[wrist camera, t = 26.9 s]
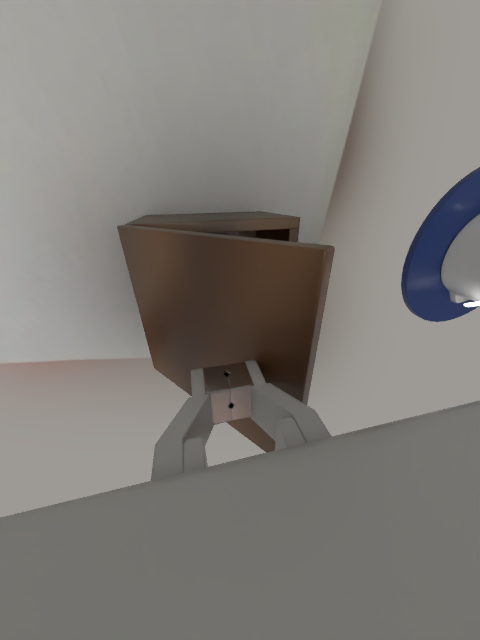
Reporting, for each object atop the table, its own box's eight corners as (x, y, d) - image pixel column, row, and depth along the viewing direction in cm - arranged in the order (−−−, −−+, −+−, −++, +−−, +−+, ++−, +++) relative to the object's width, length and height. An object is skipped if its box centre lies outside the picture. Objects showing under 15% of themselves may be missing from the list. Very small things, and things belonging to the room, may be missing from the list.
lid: (336, 245, 7) (326, 249, 6) (297, 459, 13) (290, 471, 12) (128, 224, 15) (116, 225, 14) (161, 363, 20) (153, 368, 20)
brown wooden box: (261, 211, 25) (300, 217, 17) (259, 304, 31) (287, 342, 23) (144, 215, 23) (124, 224, 15) (165, 314, 29) (158, 362, 20)
